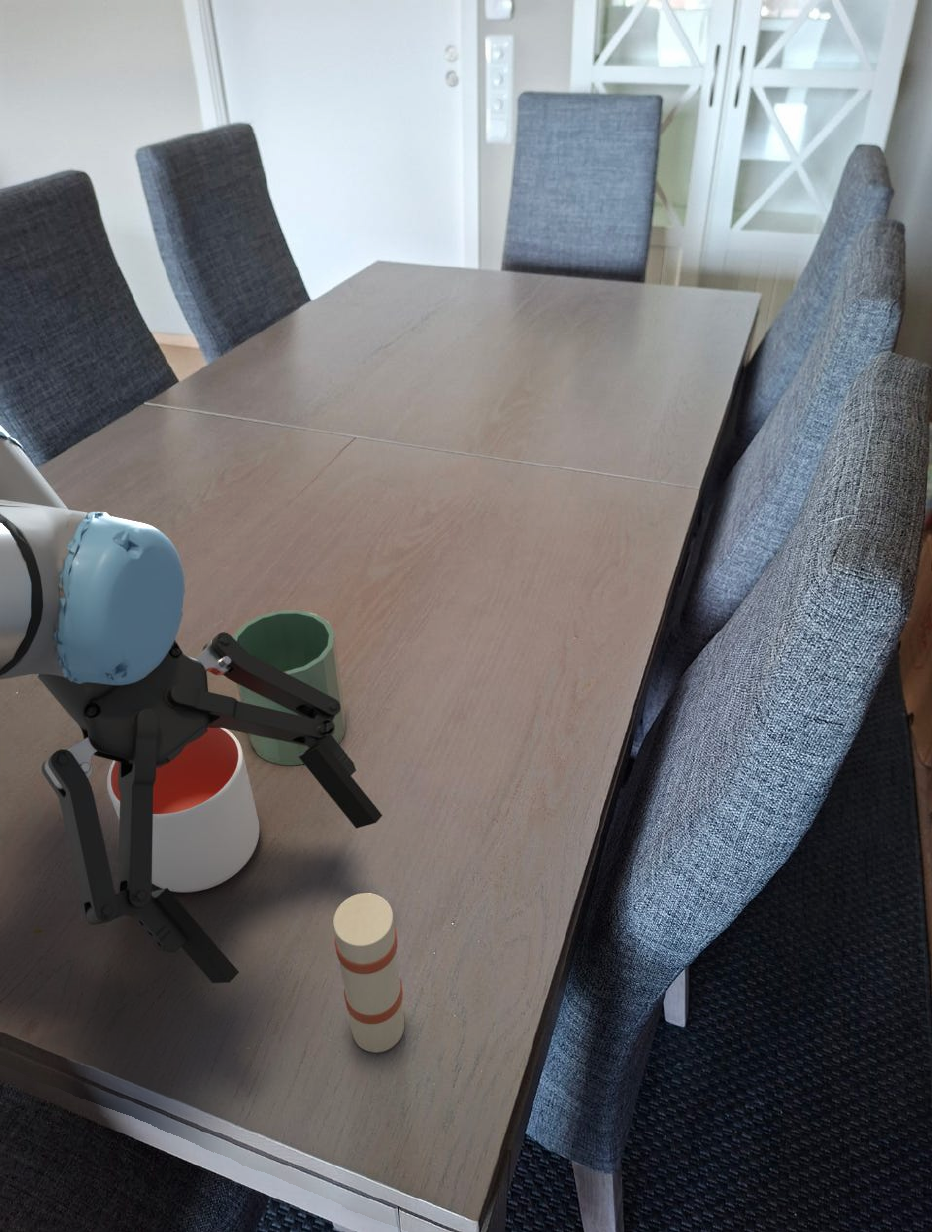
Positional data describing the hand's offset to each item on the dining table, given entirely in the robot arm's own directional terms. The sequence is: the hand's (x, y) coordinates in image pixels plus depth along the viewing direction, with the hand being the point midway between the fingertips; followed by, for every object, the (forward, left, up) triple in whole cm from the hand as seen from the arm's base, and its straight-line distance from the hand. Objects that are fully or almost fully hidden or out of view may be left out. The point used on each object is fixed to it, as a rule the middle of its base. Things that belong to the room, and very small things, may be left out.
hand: (303, 894), depth 56 cm
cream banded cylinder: (+1, -5, -11) cm, 12 cm away
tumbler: (+15, +22, -11) cm, 29 cm away
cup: (+1, +17, -11) cm, 20 cm away
